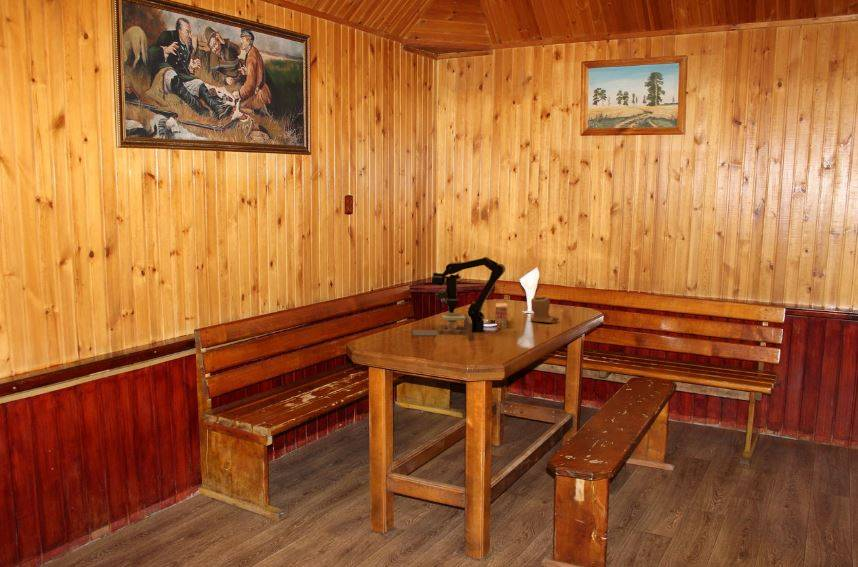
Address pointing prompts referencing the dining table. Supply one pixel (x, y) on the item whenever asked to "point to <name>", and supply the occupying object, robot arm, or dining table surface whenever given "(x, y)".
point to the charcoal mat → (424, 333)
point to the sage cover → (454, 317)
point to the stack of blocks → (501, 315)
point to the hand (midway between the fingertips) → (450, 315)
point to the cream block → (451, 324)
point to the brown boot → (542, 310)
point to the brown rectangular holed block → (458, 329)
